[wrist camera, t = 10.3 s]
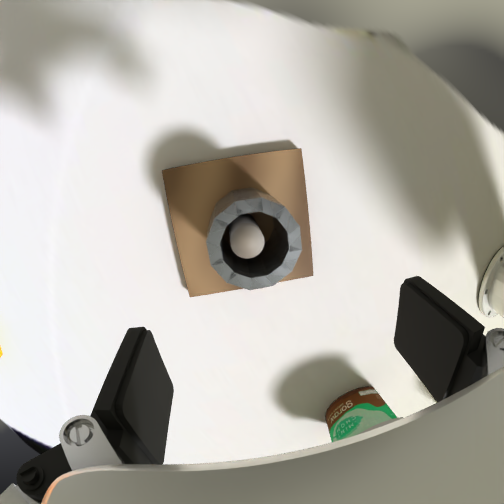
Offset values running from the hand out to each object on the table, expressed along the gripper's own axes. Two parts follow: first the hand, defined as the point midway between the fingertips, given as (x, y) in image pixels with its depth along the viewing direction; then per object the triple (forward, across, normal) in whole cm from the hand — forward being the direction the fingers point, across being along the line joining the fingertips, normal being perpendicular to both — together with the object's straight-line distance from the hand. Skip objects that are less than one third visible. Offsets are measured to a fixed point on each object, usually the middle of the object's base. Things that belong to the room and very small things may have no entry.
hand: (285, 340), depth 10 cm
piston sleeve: (+16, 0, 0) cm, 17 cm away
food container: (+18, -10, +29) cm, 35 cm away
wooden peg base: (+18, 0, 0) cm, 18 cm away
